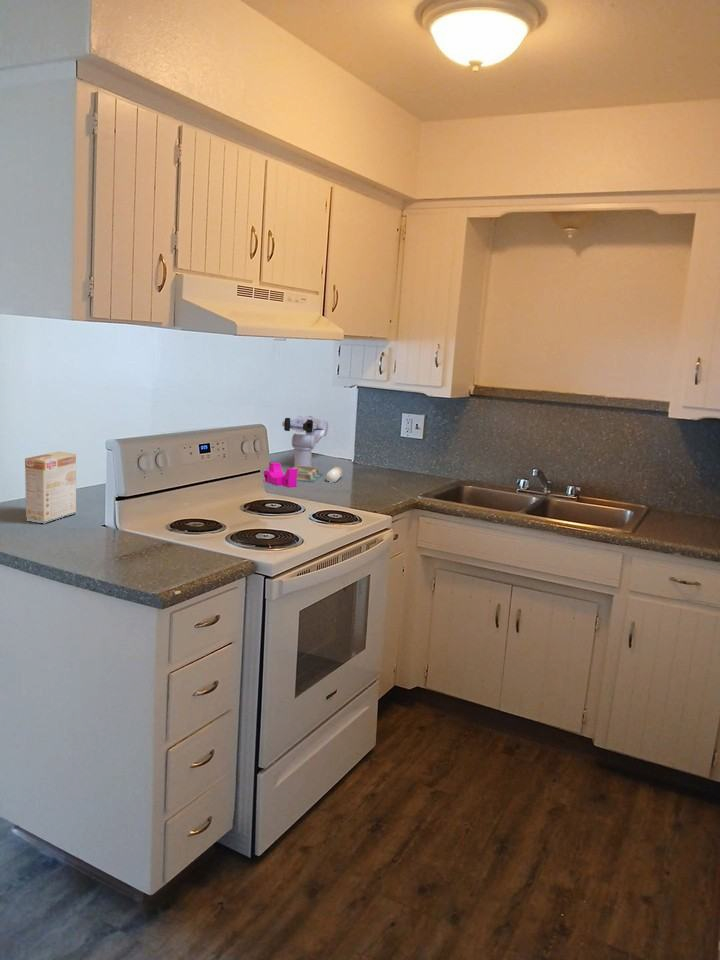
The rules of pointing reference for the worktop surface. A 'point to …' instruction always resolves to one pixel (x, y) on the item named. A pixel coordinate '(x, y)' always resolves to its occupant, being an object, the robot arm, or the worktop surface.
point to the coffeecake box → (50, 485)
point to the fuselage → (334, 474)
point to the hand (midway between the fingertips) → (294, 425)
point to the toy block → (281, 475)
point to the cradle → (307, 473)
